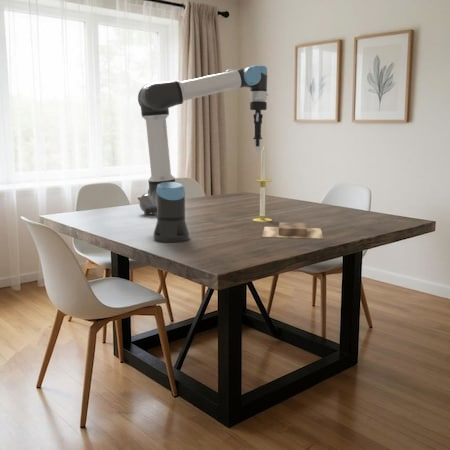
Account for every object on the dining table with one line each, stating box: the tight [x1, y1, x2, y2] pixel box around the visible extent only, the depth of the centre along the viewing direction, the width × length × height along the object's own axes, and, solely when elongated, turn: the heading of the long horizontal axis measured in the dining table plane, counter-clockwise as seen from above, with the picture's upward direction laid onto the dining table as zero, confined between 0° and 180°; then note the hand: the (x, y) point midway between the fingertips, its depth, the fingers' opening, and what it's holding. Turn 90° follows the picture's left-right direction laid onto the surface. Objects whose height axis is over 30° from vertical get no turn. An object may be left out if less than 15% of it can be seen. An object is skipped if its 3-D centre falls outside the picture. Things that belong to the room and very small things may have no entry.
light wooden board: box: [261, 226, 324, 240], centre depth 242 cm, size 26×22×1 cm
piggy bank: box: [137, 192, 157, 217], centre depth 287 cm, size 11×15×12 cm
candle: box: [252, 145, 273, 223], centre depth 269 cm, size 10×10×38 cm
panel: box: [278, 222, 308, 236], centre depth 241 cm, size 12×3×14 cm
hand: (257, 153), depth 250 cm, fingers closed
